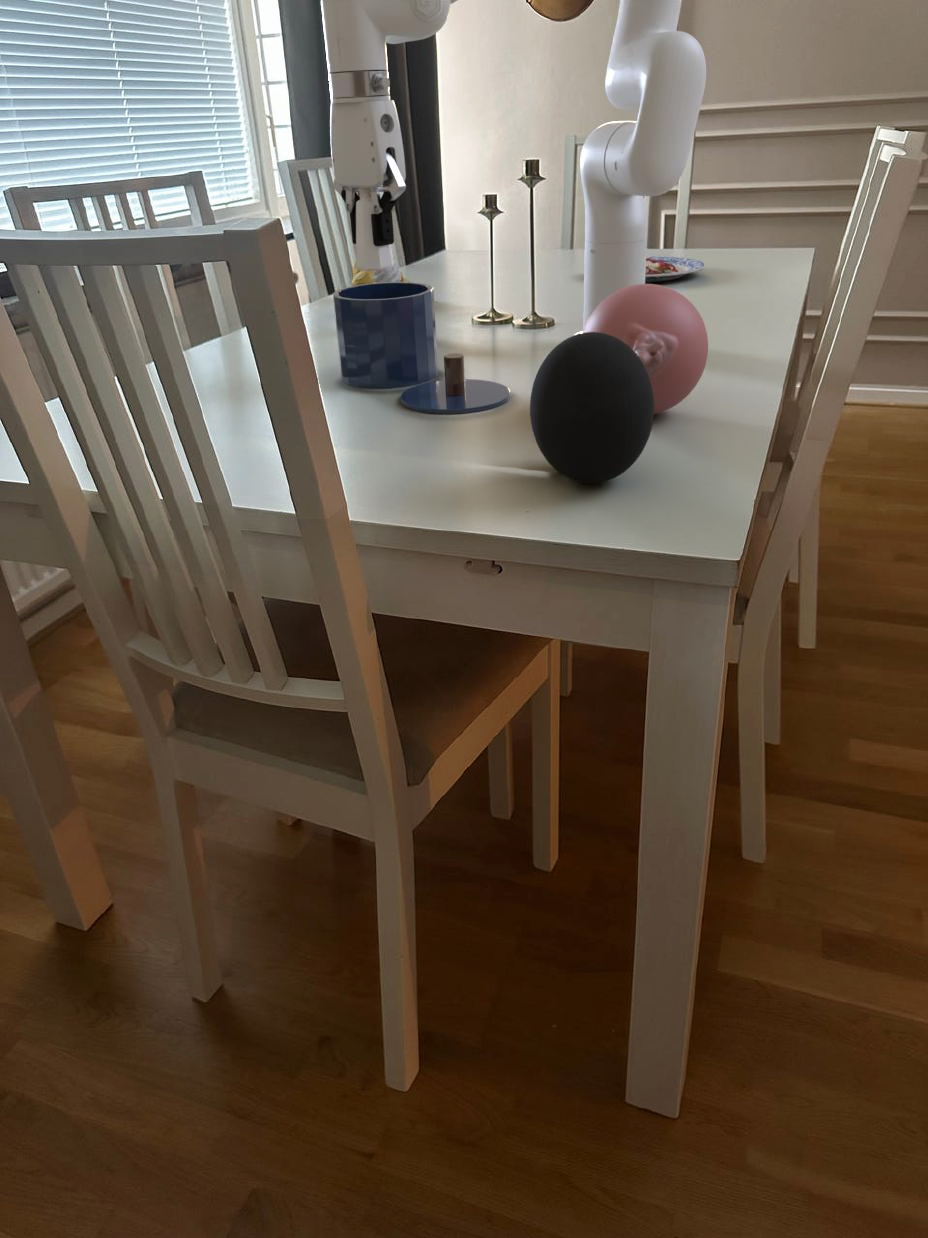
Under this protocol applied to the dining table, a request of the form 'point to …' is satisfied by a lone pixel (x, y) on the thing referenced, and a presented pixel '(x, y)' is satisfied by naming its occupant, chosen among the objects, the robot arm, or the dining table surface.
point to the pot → (386, 334)
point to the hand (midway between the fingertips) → (373, 242)
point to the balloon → (657, 337)
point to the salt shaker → (369, 238)
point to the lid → (455, 392)
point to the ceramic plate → (670, 268)
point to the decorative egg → (592, 407)
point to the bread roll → (366, 277)
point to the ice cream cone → (387, 275)
